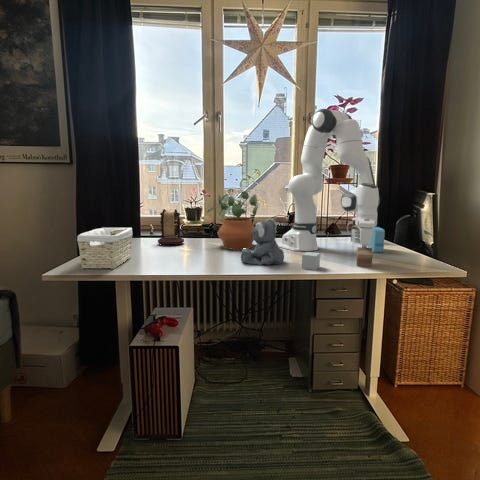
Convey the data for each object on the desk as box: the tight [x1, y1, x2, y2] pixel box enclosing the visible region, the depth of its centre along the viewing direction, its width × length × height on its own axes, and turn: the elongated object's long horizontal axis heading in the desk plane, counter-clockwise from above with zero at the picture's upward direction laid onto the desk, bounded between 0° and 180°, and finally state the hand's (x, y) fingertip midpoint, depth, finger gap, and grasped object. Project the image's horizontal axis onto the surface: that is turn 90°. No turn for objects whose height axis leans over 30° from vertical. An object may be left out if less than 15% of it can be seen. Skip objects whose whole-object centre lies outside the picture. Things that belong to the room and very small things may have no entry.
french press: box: [346, 216, 361, 245], centre depth 202 cm, size 10×12×25 cm
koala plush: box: [240, 217, 285, 266], centre depth 157 cm, size 17×18×20 cm
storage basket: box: [76, 227, 133, 270], centre depth 154 cm, size 24×16×15 cm
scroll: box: [157, 208, 185, 246], centre depth 198 cm, size 15×15×20 cm
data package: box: [367, 226, 386, 254], centre depth 181 cm, size 12×4×12 cm, turn 176°
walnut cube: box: [356, 246, 374, 268], centre depth 151 cm, size 6×6×6 cm
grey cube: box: [301, 251, 321, 271], centre depth 148 cm, size 6×6×6 cm
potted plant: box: [206, 191, 259, 250], centre depth 190 cm, size 23×28×30 cm
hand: (363, 252), depth 155 cm, fingers closed
